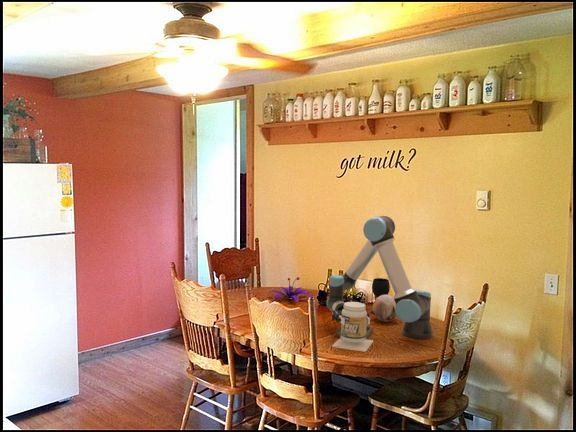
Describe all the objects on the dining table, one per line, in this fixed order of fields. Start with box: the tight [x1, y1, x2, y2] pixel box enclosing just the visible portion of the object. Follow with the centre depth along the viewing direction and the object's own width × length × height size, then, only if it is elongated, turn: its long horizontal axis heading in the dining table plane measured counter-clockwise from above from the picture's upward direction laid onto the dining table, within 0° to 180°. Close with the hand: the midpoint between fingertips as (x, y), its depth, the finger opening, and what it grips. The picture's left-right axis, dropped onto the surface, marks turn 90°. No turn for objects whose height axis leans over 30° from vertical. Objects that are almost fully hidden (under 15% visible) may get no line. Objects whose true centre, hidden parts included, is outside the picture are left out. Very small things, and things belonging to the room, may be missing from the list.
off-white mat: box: [331, 337, 374, 353], centre depth 249 cm, size 16×16×1 cm
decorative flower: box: [268, 276, 313, 303], centre depth 337 cm, size 28×31×15 cm
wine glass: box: [370, 277, 391, 315], centre depth 309 cm, size 10×10×20 cm
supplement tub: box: [340, 301, 368, 342], centre depth 249 cm, size 12×12×17 cm
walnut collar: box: [334, 325, 374, 340], centre depth 266 cm, size 16×16×2 cm
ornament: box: [372, 294, 398, 323], centre depth 291 cm, size 15×15×15 cm
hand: (356, 321), depth 245 cm, fingers closed on supplement tub, 12 cm apart
